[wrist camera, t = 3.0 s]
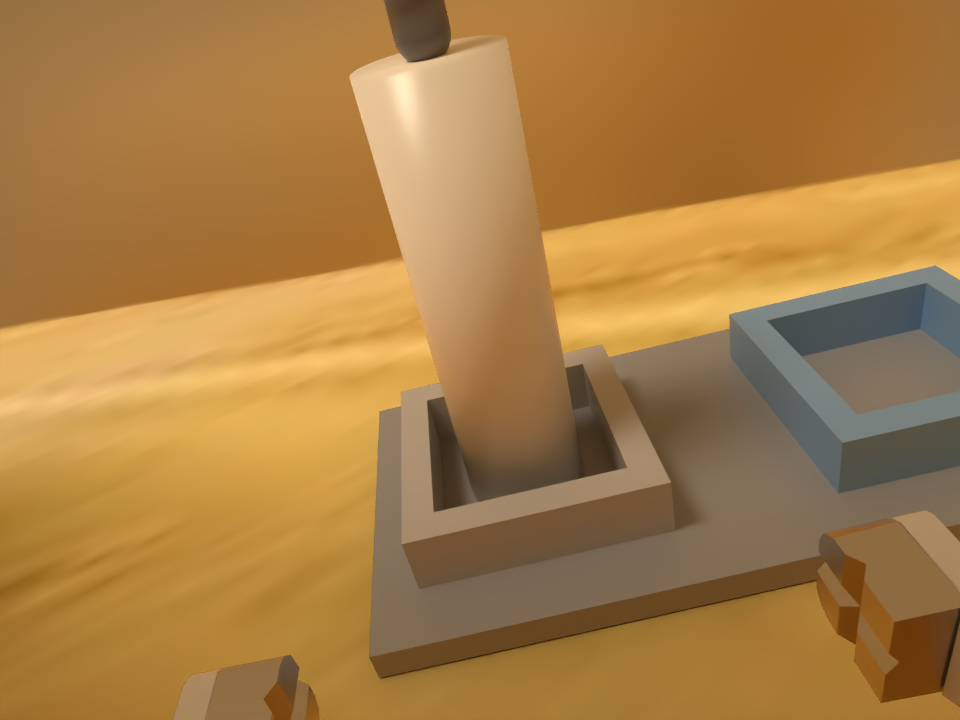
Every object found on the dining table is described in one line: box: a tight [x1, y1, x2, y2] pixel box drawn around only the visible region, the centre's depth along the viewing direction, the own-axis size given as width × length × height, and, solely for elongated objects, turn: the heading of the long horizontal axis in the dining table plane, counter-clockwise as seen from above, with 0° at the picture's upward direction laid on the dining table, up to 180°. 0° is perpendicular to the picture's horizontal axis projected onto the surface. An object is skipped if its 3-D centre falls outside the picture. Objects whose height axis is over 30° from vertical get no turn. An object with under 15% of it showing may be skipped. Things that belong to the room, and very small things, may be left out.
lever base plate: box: [369, 266, 960, 678], centre depth 24 cm, size 24×12×3 cm, turn 96°
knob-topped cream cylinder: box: [350, 0, 583, 502], centre depth 20 cm, size 4×4×17 cm
